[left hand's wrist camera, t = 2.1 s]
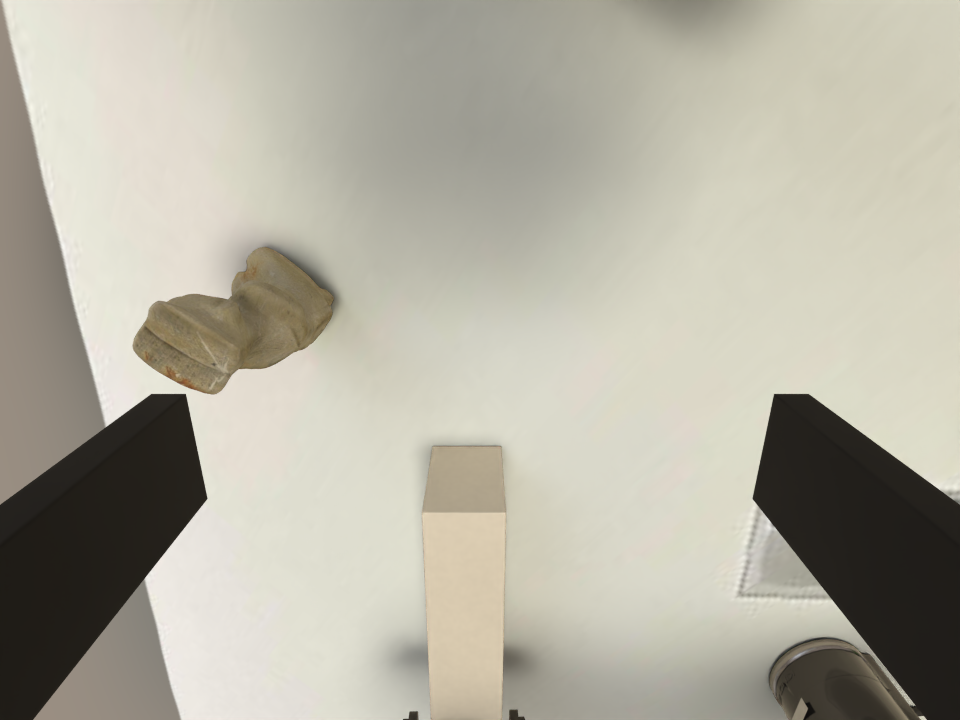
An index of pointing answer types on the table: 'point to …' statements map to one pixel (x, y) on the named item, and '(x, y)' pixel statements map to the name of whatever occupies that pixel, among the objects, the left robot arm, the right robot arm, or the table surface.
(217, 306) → the sculpture
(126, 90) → the table surface
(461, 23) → the table surface
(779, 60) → the table surface
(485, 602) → the box
